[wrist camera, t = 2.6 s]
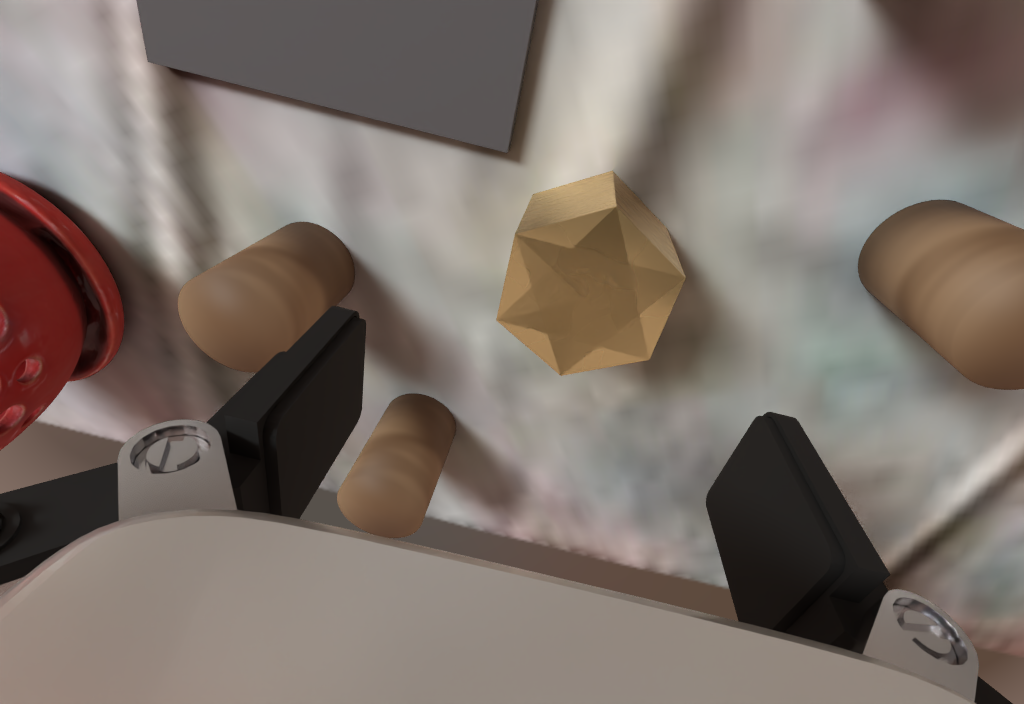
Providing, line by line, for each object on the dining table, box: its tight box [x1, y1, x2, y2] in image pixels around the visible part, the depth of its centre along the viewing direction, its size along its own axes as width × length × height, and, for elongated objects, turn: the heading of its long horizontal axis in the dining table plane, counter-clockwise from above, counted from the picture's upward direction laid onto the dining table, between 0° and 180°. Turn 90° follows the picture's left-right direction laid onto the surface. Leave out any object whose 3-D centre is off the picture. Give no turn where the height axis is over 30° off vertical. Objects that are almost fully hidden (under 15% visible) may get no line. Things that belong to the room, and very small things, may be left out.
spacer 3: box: [858, 200, 1024, 390], centre depth 16 cm, size 4×4×6 cm
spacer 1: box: [178, 222, 355, 372], centre depth 20 cm, size 4×4×6 cm
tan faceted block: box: [496, 171, 686, 376], centre depth 18 cm, size 6×6×5 cm
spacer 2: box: [337, 394, 456, 538], centre depth 24 cm, size 4×4×6 cm
